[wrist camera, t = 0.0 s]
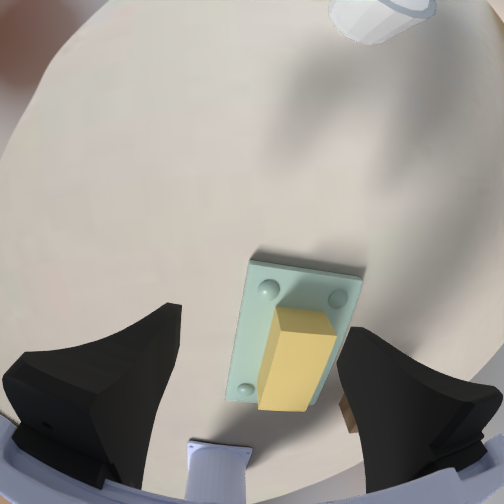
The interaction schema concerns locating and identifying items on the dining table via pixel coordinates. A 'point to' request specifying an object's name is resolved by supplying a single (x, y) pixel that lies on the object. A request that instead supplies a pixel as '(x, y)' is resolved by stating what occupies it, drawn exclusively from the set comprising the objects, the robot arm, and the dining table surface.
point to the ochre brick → (294, 359)
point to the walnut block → (348, 415)
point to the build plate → (291, 296)
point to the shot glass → (378, 17)
